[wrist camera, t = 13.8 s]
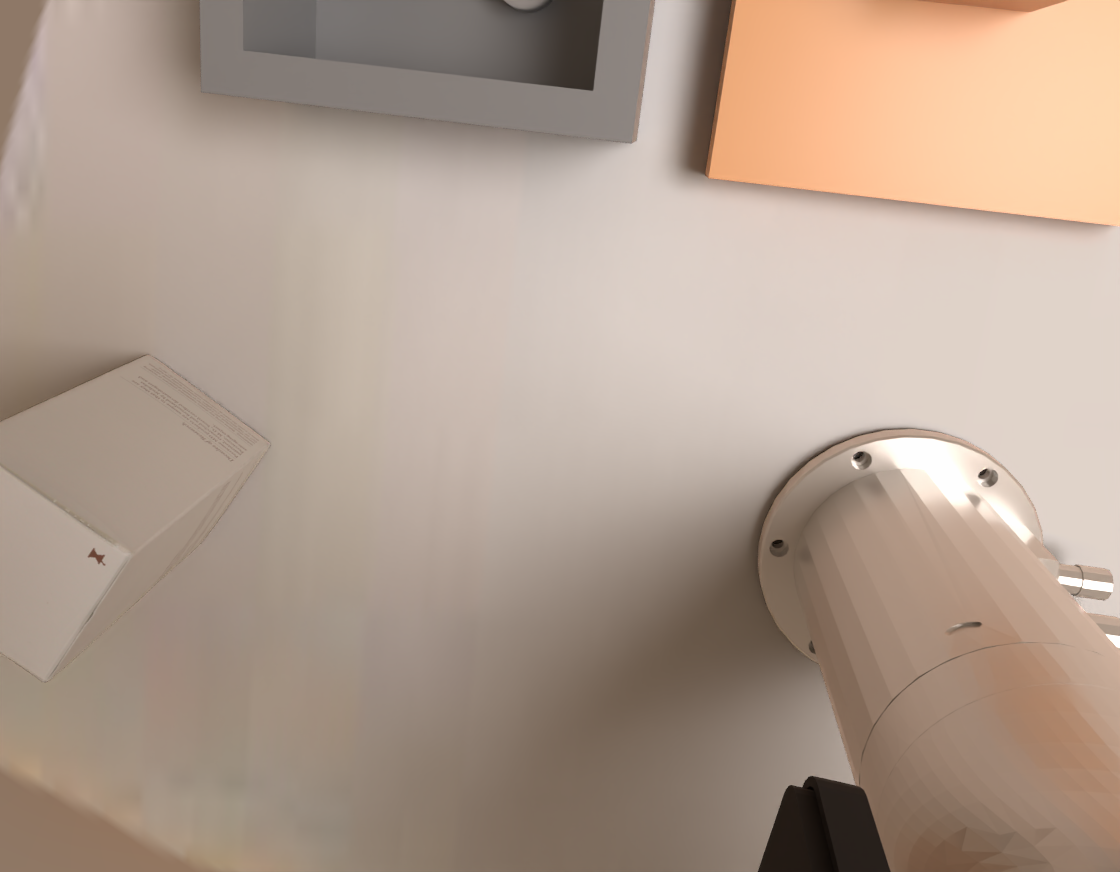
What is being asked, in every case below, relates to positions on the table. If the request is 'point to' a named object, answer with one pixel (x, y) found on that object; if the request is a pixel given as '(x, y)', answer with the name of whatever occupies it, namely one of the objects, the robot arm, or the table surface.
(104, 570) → the supplement box
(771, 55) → the lid
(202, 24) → the tub
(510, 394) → the table surface
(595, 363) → the table surface
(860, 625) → the robot arm
